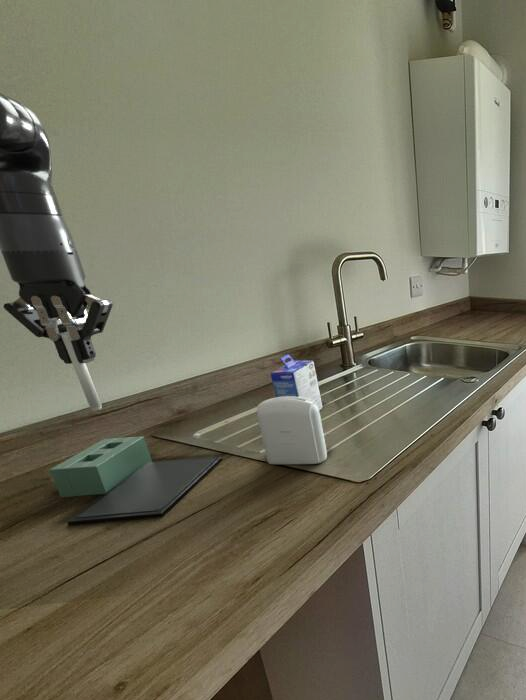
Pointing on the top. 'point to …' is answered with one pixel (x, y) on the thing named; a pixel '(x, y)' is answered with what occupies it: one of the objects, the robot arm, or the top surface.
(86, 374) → the stylus
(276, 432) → the photo printer
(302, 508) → the top surface
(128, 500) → the tablet
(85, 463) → the pen stand
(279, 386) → the ink cartridge box
